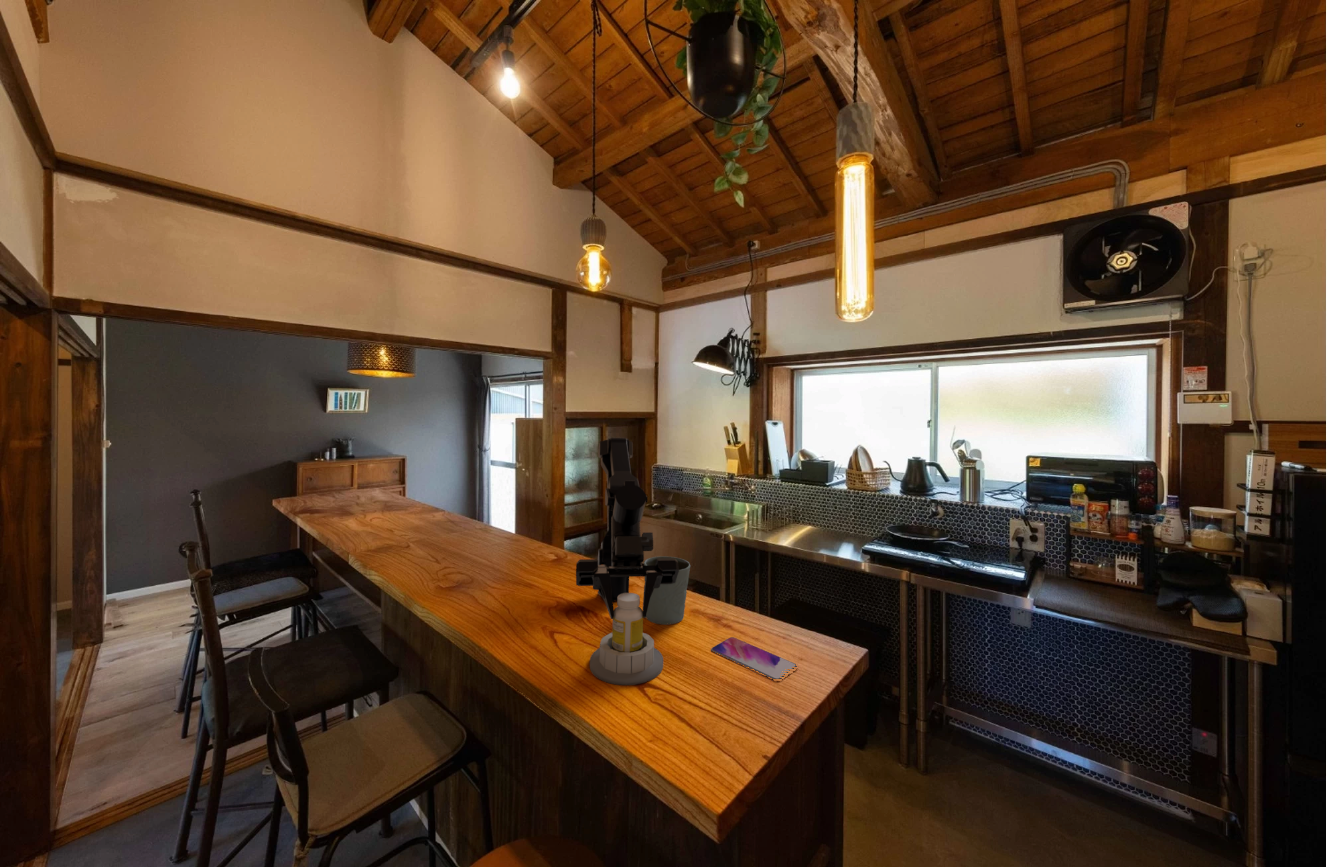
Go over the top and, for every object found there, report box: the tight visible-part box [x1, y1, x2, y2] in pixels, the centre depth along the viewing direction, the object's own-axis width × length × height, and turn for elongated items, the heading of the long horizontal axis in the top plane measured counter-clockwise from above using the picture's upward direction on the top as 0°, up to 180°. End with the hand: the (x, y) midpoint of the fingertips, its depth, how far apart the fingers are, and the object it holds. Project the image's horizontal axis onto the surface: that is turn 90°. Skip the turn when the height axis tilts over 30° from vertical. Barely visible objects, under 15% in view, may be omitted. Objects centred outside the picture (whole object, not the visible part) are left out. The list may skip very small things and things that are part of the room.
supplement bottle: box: [611, 592, 644, 653], centre depth 85 cm, size 5×5×10 cm
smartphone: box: [710, 636, 797, 679], centre depth 89 cm, size 7×1×15 cm
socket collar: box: [589, 632, 664, 686], centre depth 85 cm, size 13×13×4 cm
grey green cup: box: [643, 555, 691, 626], centre depth 106 cm, size 10×10×12 cm
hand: (628, 617), depth 84 cm, fingers closed on supplement bottle, 5 cm apart
